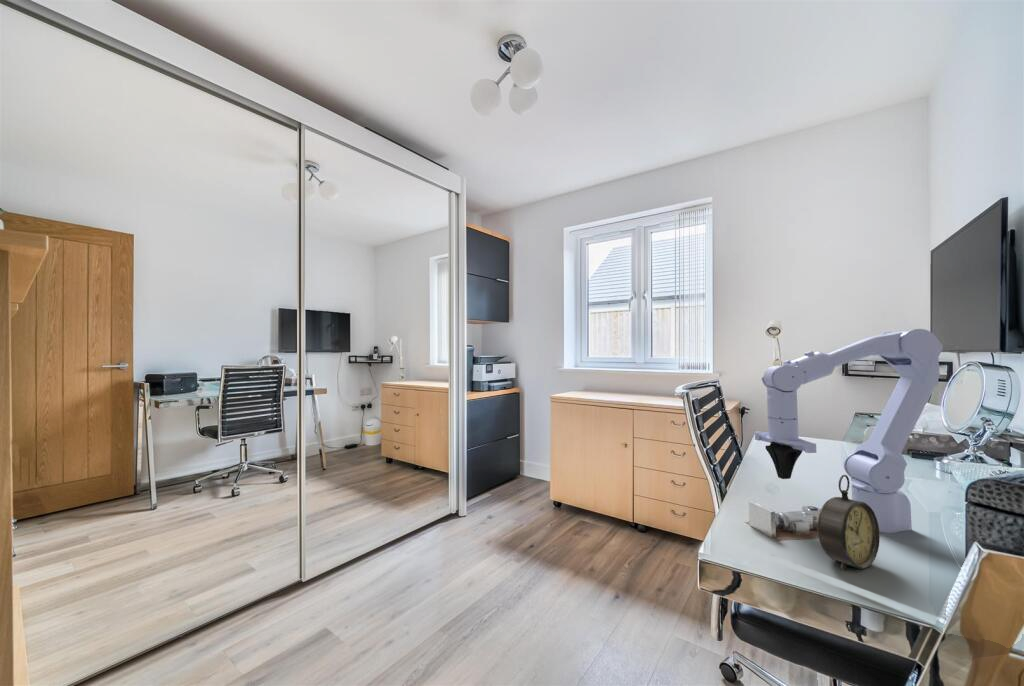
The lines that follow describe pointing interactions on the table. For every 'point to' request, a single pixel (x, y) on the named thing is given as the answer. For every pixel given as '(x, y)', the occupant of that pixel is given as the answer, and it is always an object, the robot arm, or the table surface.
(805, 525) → the square plate with knob
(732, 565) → the table surface
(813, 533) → the board
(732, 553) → the table surface
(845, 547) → the alarm clock
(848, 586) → the table surface
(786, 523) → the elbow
